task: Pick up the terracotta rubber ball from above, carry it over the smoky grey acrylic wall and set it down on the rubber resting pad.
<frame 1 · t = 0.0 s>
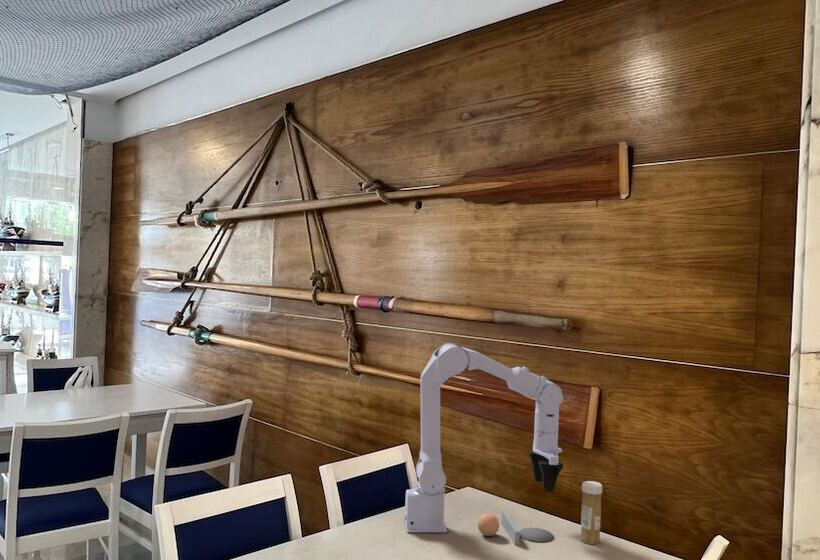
hand: (543, 486, 161), 10 cm above the table, fingers open, 7 cm apart
terracotta ball: (488, 535, 155), on the table
spice jar: (589, 541, 154), on the table
acrylic wall: (510, 533, 157), on the table
resting pad: (535, 535, 156), on the table
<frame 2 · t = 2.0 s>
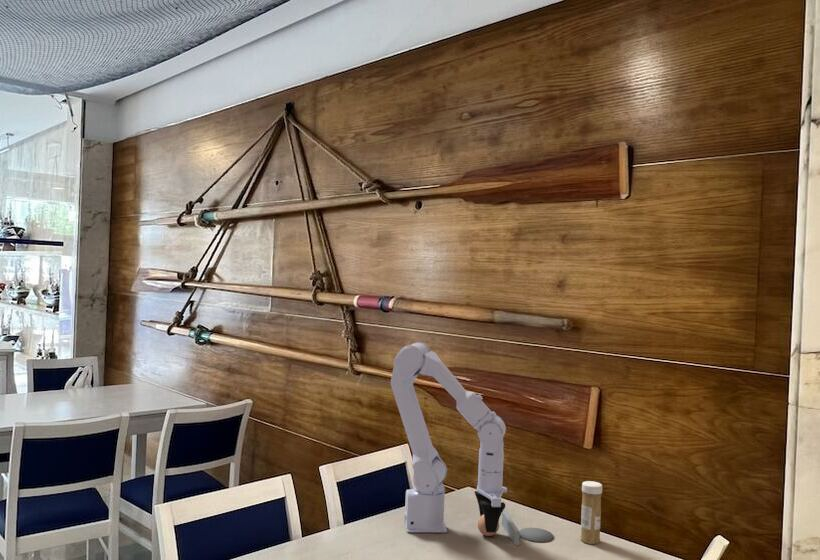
hand: (488, 527, 155), 2 cm above the table, fingers closed on terracotta ball, 5 cm apart
terracotta ball: (488, 535, 155), on the table, touching gripper
everything else where it was.
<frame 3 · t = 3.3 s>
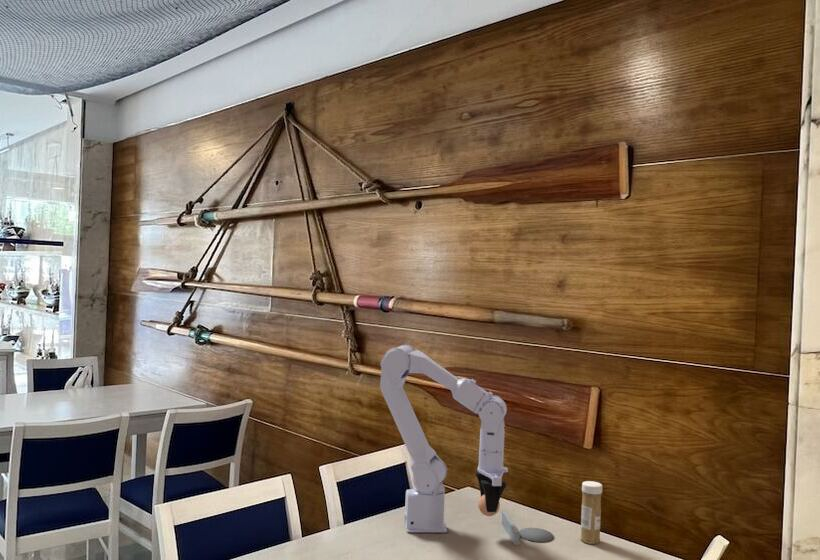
hand: (488, 507, 155), 7 cm above the table, fingers closed on terracotta ball, 5 cm apart
terracotta ball: (488, 515, 155), point 5 cm above the table, touching gripper
everything else where it was.
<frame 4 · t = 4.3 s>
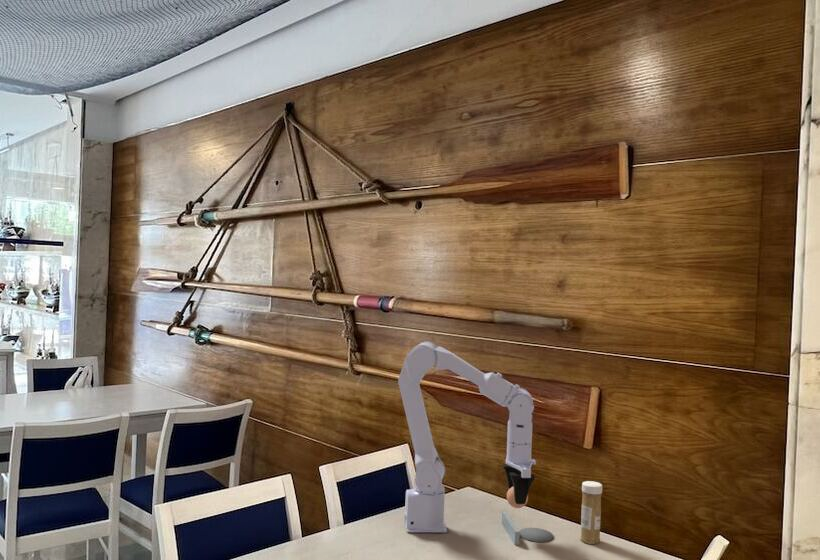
hand: (517, 499, 156), 9 cm above the table, fingers closed on terracotta ball, 5 cm apart
terracotta ball: (516, 507, 156), point 7 cm above the table, touching gripper
everything else where it was.
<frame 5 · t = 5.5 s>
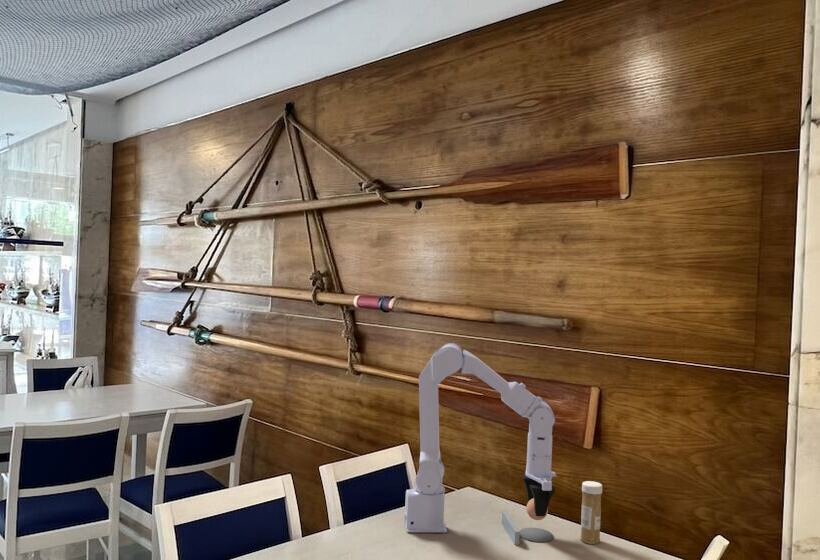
hand: (537, 511, 156), 6 cm above the table, fingers closed on terracotta ball, 5 cm apart
terracotta ball: (536, 519, 156), point 4 cm above the table, touching gripper
everything else where it was.
when the fingers open (3 cm above the table, at t = 6.6 s): terracotta ball stays where it is, resting on resting pad.
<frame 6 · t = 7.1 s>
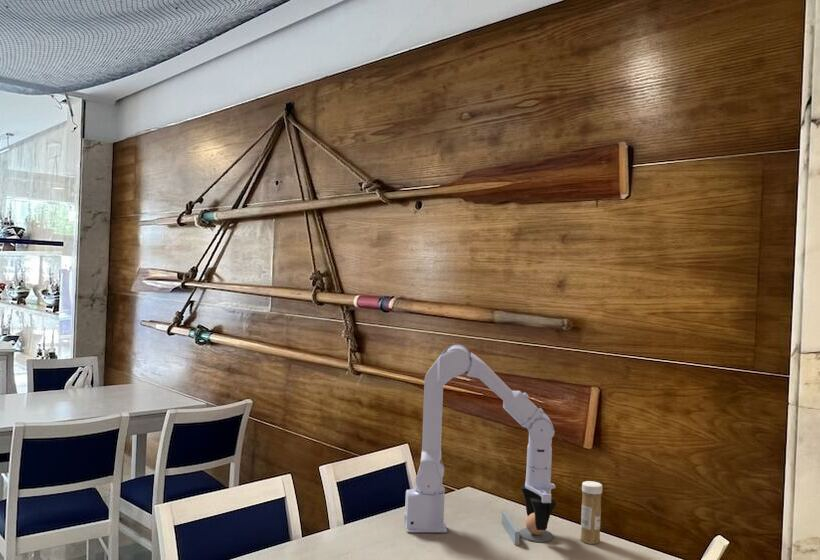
hand: (536, 523, 156), 3 cm above the table, fingers open, 7 cm apart
terracotta ball: (536, 534, 156), resting on resting pad
everything else where it was.
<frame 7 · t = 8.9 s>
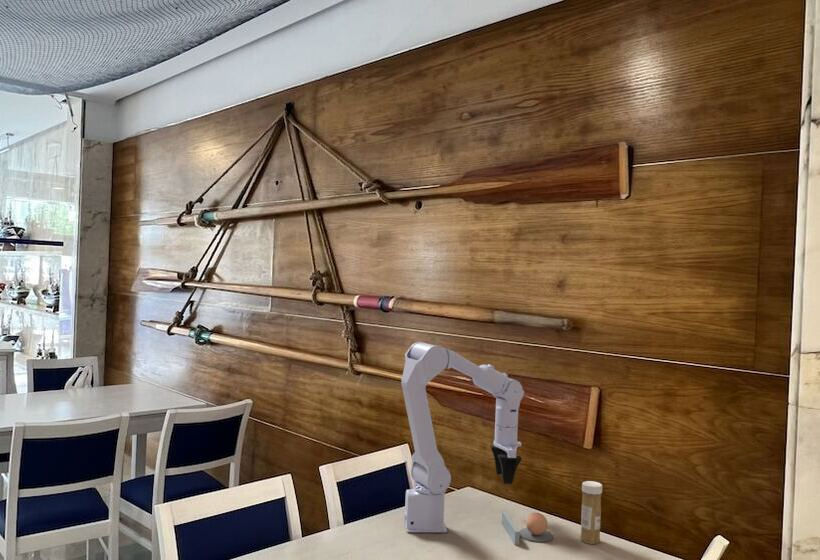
hand: (504, 478, 169), 9 cm above the table, fingers open, 7 cm apart
nothing on the table moved.
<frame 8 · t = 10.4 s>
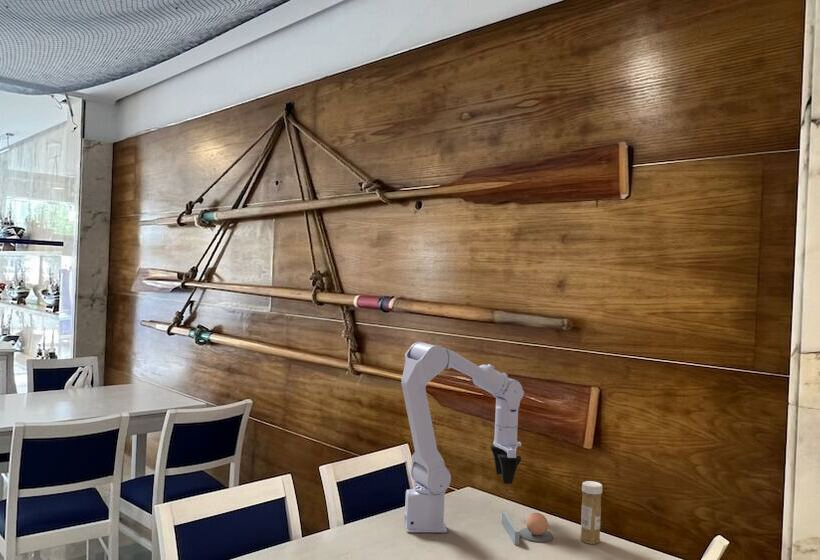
hand: (504, 478, 169), 9 cm above the table, fingers open, 7 cm apart
nothing on the table moved.
at the end: terracotta ball 0.0 cm off-centre on the resting pad, point 0.3 cm above the resting pad's base; the gripper is holding nothing; spice jar moved 0.2 cm from its start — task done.
